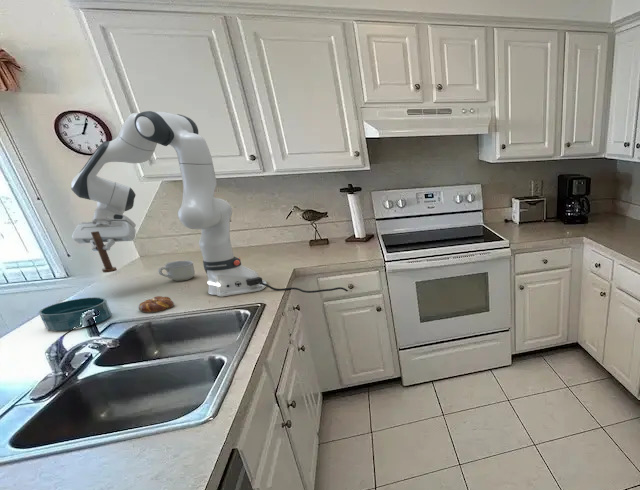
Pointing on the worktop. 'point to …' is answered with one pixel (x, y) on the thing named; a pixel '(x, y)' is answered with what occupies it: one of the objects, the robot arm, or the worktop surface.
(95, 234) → the stirring stick
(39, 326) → the worktop surface
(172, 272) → the teacup
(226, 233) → the robot arm
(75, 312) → the bowl
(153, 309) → the pretzel
